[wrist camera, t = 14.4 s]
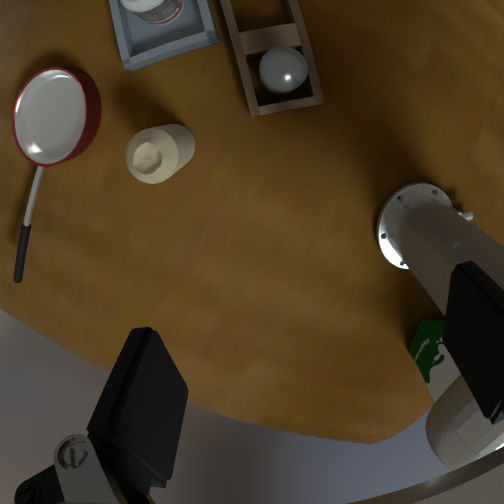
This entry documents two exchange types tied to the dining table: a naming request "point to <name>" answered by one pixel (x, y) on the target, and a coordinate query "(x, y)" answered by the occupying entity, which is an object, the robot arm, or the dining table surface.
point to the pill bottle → (155, 10)
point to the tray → (162, 34)
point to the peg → (282, 70)
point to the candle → (159, 152)
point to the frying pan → (52, 129)
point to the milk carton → (433, 357)
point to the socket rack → (266, 40)
